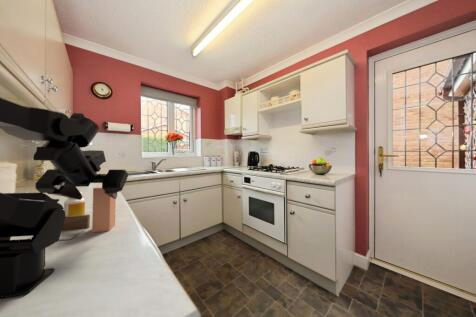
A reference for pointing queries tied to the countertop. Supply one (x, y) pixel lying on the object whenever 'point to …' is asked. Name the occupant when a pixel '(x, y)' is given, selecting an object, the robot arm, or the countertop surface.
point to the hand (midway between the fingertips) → (98, 197)
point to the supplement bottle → (74, 206)
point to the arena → (74, 226)
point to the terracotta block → (102, 211)
